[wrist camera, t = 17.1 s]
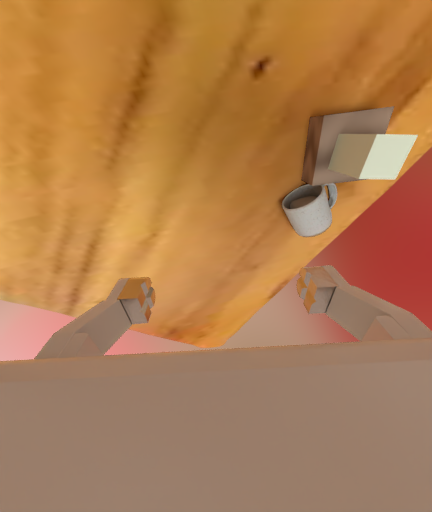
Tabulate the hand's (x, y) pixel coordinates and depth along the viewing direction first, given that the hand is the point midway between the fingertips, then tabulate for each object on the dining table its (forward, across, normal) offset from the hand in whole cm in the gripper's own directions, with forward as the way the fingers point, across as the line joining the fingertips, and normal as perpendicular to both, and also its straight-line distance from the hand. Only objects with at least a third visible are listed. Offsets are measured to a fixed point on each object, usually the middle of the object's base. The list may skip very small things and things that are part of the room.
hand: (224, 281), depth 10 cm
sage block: (+26, -22, -3) cm, 34 cm away
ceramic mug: (+31, -19, +7) cm, 37 cm away
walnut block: (+31, -22, -3) cm, 38 cm away
